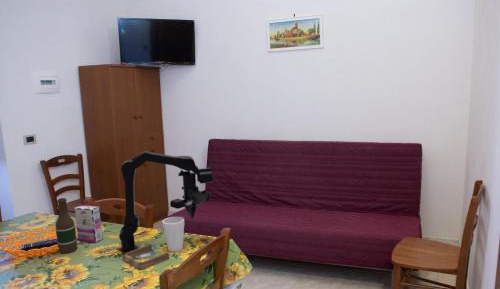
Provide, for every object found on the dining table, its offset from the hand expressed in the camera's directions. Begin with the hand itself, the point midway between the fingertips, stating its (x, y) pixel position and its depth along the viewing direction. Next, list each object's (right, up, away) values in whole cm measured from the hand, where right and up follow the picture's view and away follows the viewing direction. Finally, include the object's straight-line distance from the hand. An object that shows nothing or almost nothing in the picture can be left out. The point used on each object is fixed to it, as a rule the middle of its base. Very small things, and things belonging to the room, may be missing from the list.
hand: (192, 218), depth 178 cm
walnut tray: (-16, -14, -15) cm, 26 cm away
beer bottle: (-55, -14, -2) cm, 57 cm away
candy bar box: (-50, -12, +9) cm, 52 cm away
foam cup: (-6, -13, -6) cm, 15 cm away
